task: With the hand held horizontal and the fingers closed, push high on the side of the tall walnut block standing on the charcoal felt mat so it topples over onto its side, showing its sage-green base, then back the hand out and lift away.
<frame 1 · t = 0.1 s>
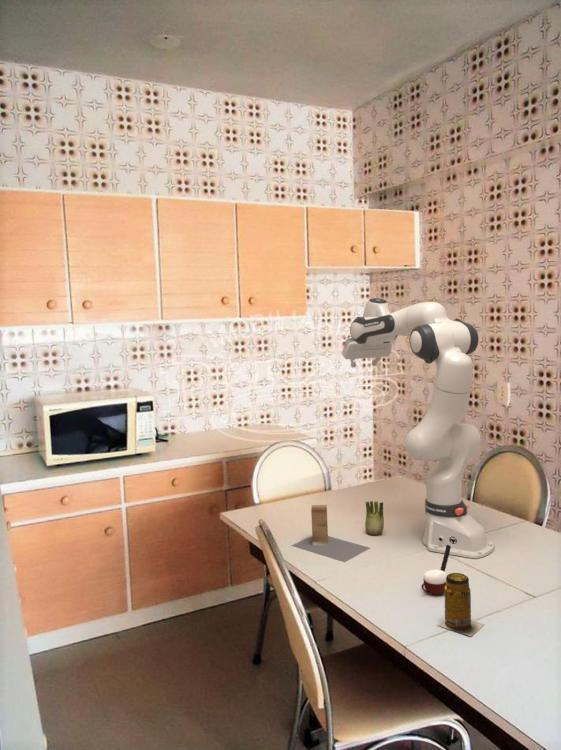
hand: (363, 365, 244), 54 cm above the table, tool tilted 30°, fingers open, 8 cm apart
cocoa: (436, 592, 163), on the table
condiment: (461, 626, 145), on the table
walnut block: (320, 542, 201), resting on felt mat
fennel bulb: (374, 535, 206), on the table
felt mat: (330, 547, 197), on the table
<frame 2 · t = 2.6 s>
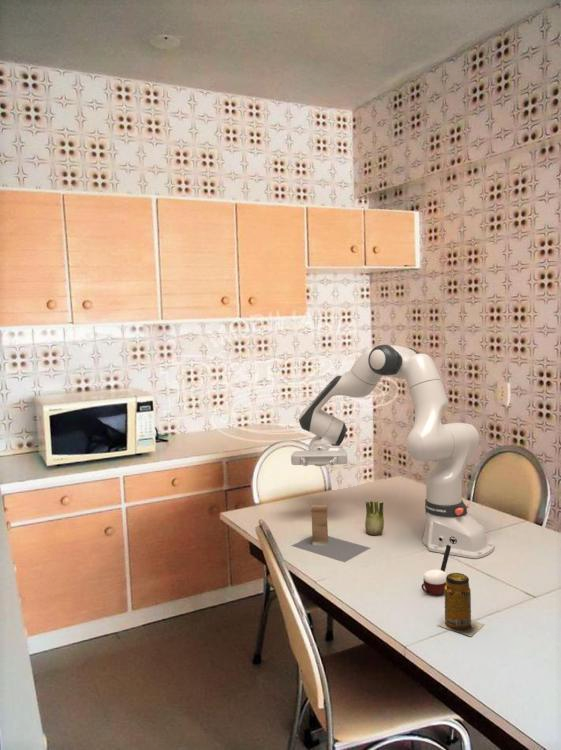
hand: (318, 463, 210), 24 cm above the table, tool horizontal, fingers open, 8 cm apart
nothing on the table moved.
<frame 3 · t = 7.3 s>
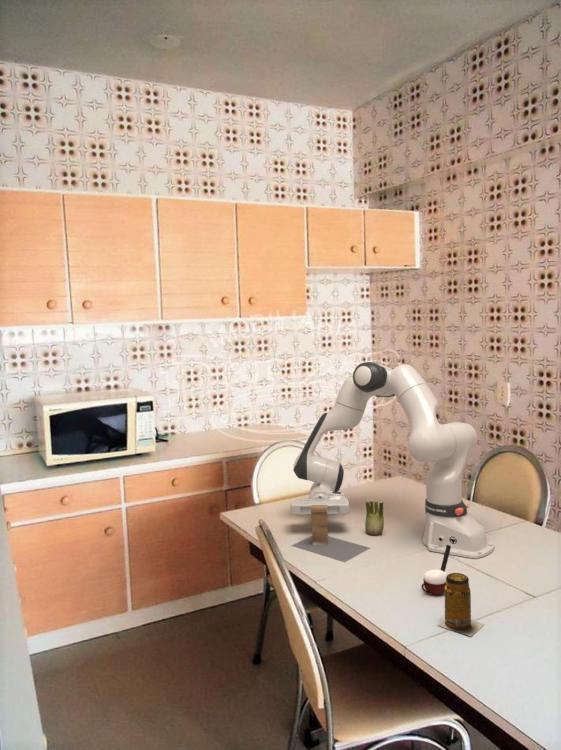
hand: (319, 514, 201), 10 cm above the table, tool horizontal, fingers closed
walnut block: (320, 541, 201), point 1 cm above the table, tilted 9°, touching felt mat
everything else where it was.
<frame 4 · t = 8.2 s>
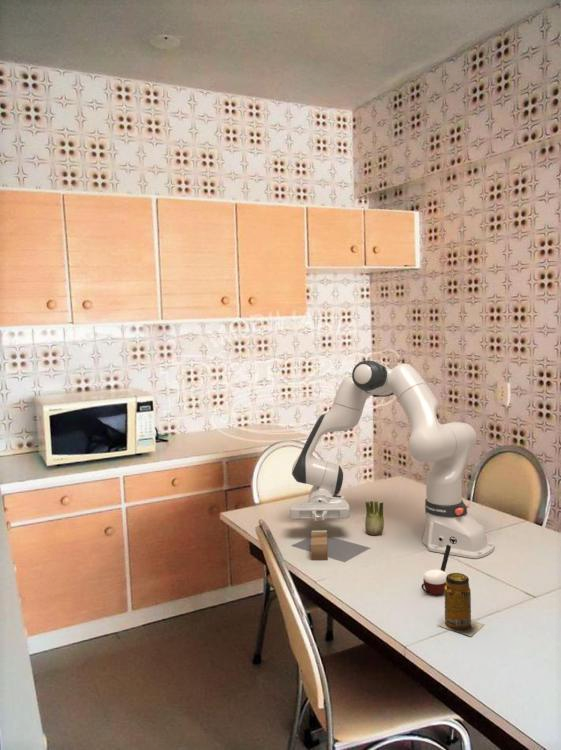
hand: (319, 518, 197), 9 cm above the table, tool horizontal, fingers closed
walnut block: (319, 537, 198), point 3 cm above the table, tilted 90°, touching felt mat
everything else where it was.
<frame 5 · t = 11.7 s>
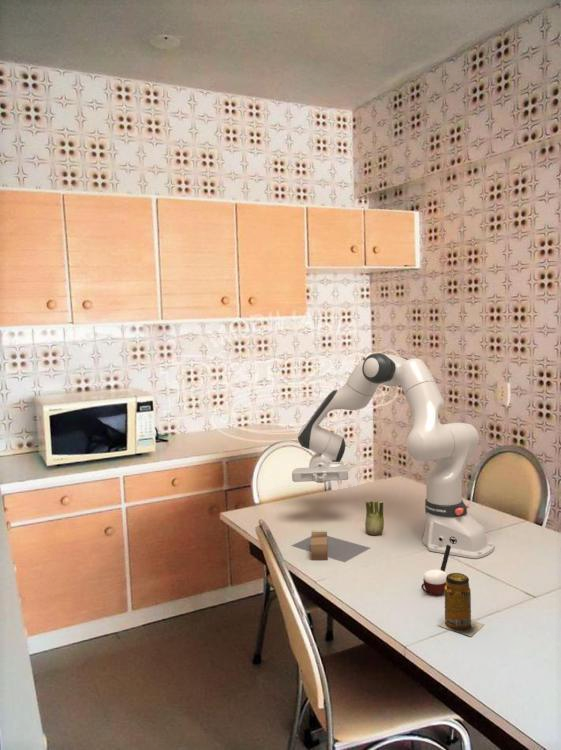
hand: (319, 479, 210), 19 cm above the table, tool horizontal, fingers closed
nothing on the table moved.
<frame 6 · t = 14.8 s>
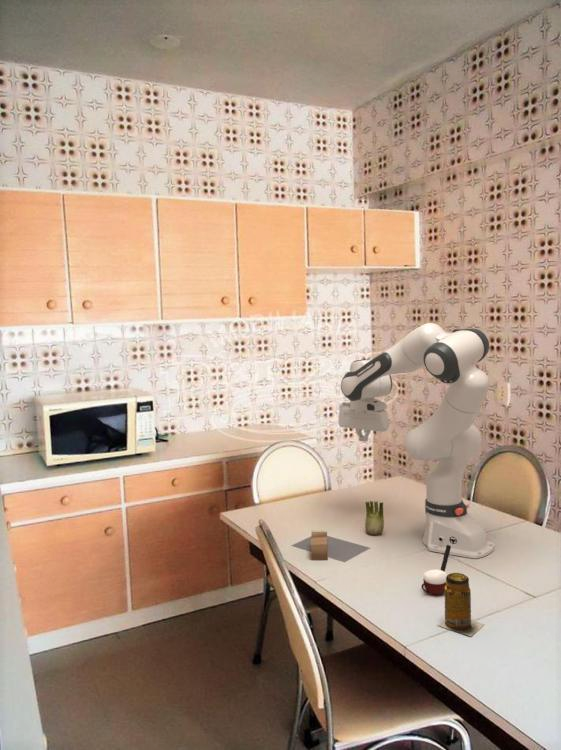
hand: (363, 441, 220), 29 cm above the table, tool pointing down, fingers closed
nothing on the table moved.
at the end: walnut block tilted 90°; walnut block inside the target area (1.6 cm from its centre), point 2.9 cm above the table; the gripper is holding nothing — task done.
